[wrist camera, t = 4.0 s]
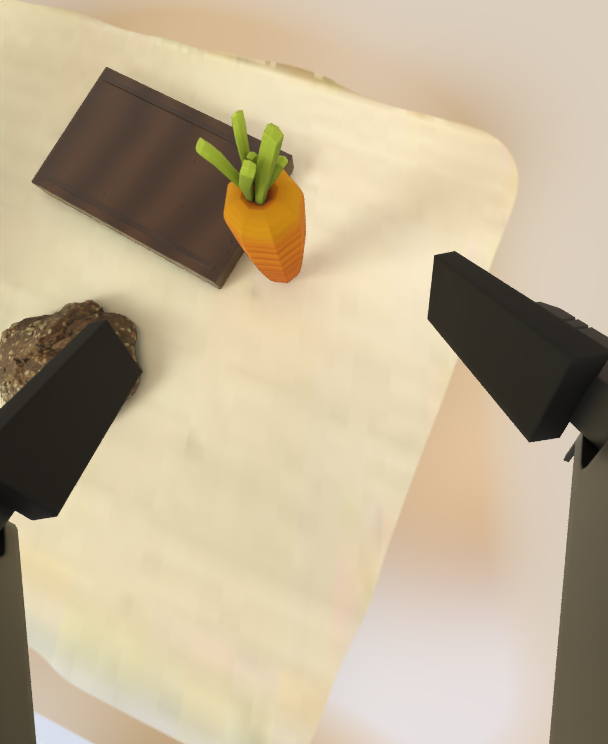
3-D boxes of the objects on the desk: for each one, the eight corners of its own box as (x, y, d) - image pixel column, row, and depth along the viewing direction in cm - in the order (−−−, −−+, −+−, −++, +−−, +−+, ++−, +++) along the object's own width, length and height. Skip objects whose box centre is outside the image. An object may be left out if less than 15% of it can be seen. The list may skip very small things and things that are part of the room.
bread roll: (39, 450, 27) (-24, 461, 23) (8, 331, 29) (-57, 317, 24) (162, 402, 27) (126, 403, 22) (125, 284, 28) (83, 260, 24)
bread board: (45, 192, 30) (30, 180, 29) (116, 82, 31) (105, 65, 29) (220, 289, 28) (214, 283, 26) (294, 168, 28) (292, 154, 27)
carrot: (251, 288, 27) (162, 157, 13) (276, 244, 28) (220, 63, 13) (296, 312, 27) (260, 205, 12) (322, 267, 27) (318, 106, 12)
